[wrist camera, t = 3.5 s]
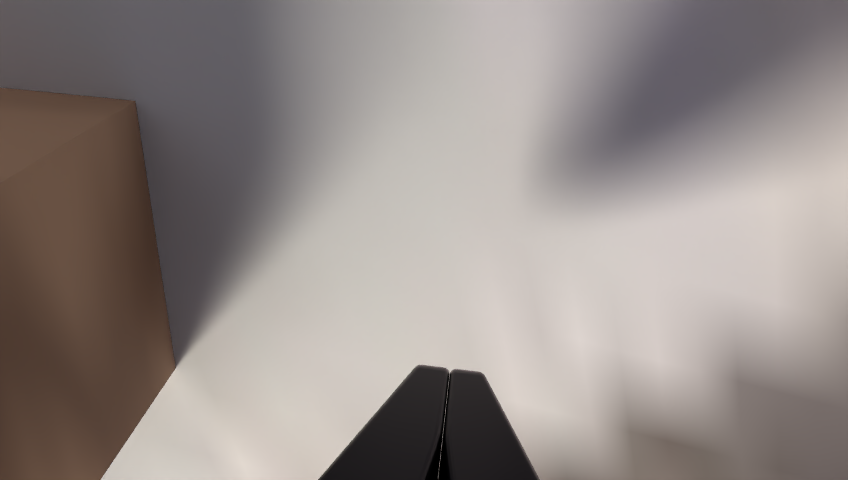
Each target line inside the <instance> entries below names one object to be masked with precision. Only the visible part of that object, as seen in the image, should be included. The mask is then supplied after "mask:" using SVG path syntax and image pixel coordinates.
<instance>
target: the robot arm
mask: <svg viewBox="0 0 848 480" xmlns="http://www.w3.org/2000/svg"><path fill="white" fill-rule="evenodd" d="M448 382H449V386H448ZM447 391H448V395H447ZM446 400H447V404H446ZM445 409H446V413H445ZM444 418H445V422H444ZM443 427H444V431H443ZM442 436H443V440H442ZM441 445H442V449H441ZM440 454H441V458H440ZM439 463H440V467H439ZM438 472H439V476H438ZM318 480H540V479H539V477H538V475H537V474H536V472H535V470H534V468H533V466H532V464H531V462H530V460H529V458H528V457H527V455H526V453H525V451H524V449H523V447H522V445H521V443H520V441H519V439H518V438H517V436H516V434H515V432H514V430H513V428H512V426H511V424H510V422H509V421H508V419H507V417H506V415H505V413H504V411H503V409H502V407H501V405H500V403H499V402H498V400H497V398H496V396H495V394H494V392H493V390H492V388H491V386H490V385H489V383H488V381H487V379H486V377H485V376H484V374H482V373H481V372H476V371H468V370H460V369H454V370H452V371H451V372H450V377H449V371H448V369H446V368H443V367H435V366H427V365H418V366H416V367H415V368H414V369H413V370H412V372H411V373H410V374H409V375H408V376H407V377H406V378H405V380H404V381H403V382H402V383H401V384H400V385H399V387H398V388H397V389H396V390H395V391H394V392H393V394H392V395H391V396H390V397H389V398H388V399H387V401H386V402H385V403H384V404H383V405H382V406H381V407H380V409H379V410H378V411H377V412H376V413H375V414H374V416H373V417H372V418H371V419H370V420H369V421H368V423H367V424H366V425H365V426H364V427H363V428H362V430H361V431H360V432H359V433H358V434H357V435H356V436H355V438H354V439H353V440H352V441H351V442H350V443H349V445H348V446H347V447H346V448H345V449H344V450H343V452H342V453H341V454H340V455H339V456H338V457H337V458H336V460H335V461H334V462H333V463H332V464H331V465H330V467H329V468H328V469H327V470H326V471H325V472H324V474H323V475H322V476H321V477H320V478H319V479H318Z"/></svg>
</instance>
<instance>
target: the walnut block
mask: <svg viewBox="0 0 848 480" xmlns="http://www.w3.org/2000/svg"><path fill="white" fill-rule="evenodd" d="M175 368H176V367H175V360H174V354H173V347H172V341H171V334H170V327H169V321H168V314H167V308H166V301H165V294H164V288H163V281H162V275H161V268H160V261H159V255H158V248H157V242H156V235H155V228H154V222H153V215H152V209H151V202H150V195H149V189H148V182H147V176H146V169H145V162H144V156H143V149H142V143H141V136H140V129H139V123H138V116H137V110H136V103H135V101H131V100H121V99H111V98H101V97H91V96H80V95H70V94H60V93H50V92H40V91H30V90H20V89H9V88H0V480H101V478H102V477H103V475H104V474H105V472H106V471H107V469H108V468H109V466H110V465H111V463H112V462H113V460H114V459H115V457H116V456H117V454H118V453H119V451H120V450H121V448H122V447H123V445H124V444H125V442H126V441H127V439H128V438H129V437H130V435H131V434H132V432H133V431H134V429H135V428H136V426H137V425H138V423H139V422H140V420H141V419H142V417H143V416H144V414H145V413H146V411H147V410H148V408H149V407H150V405H151V404H152V402H153V401H154V399H155V398H156V396H157V395H158V393H159V392H160V390H161V389H162V388H163V386H164V385H165V383H166V382H167V380H168V379H169V377H170V376H171V374H172V373H173V371H174V370H175Z"/></svg>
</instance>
